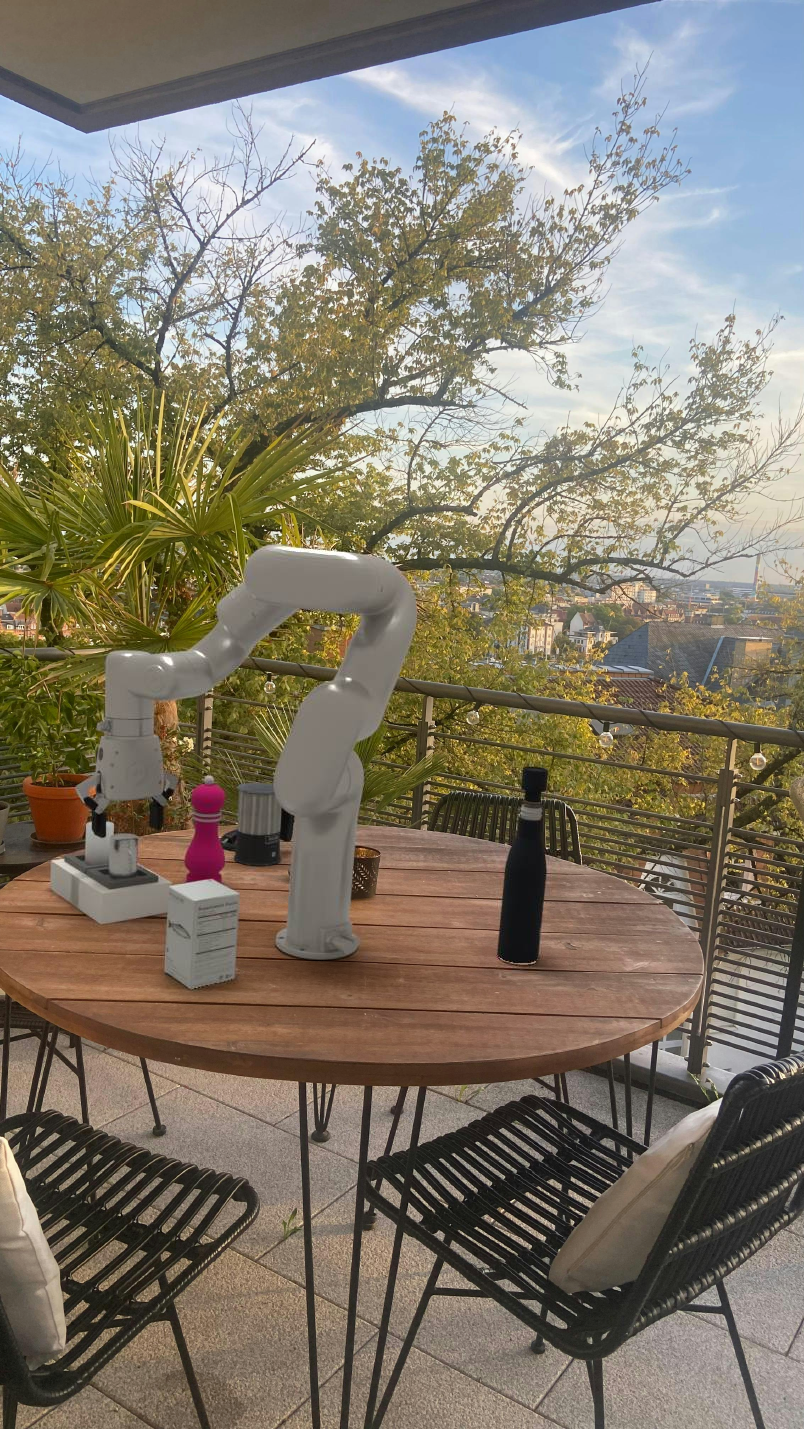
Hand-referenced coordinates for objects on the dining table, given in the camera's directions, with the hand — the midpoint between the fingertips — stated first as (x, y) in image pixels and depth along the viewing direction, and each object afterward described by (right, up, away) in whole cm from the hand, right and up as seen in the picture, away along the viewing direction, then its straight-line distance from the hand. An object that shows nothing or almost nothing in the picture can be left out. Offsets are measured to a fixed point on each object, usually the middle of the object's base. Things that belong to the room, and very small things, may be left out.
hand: (128, 832), depth 158 cm
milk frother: (+13, -9, +38) cm, 42 cm away
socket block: (-5, -12, +5) cm, 14 cm away
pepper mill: (+9, -12, +17) cm, 23 cm away
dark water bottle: (+62, -19, -7) cm, 66 cm away
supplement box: (+16, -18, -23) cm, 33 cm away
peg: (-2, -13, +2) cm, 13 cm away
